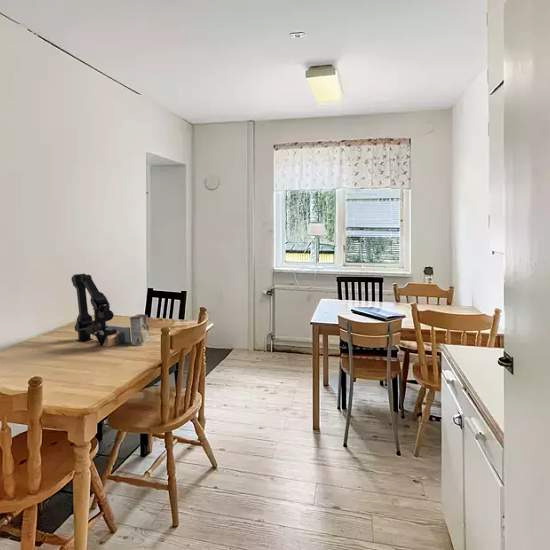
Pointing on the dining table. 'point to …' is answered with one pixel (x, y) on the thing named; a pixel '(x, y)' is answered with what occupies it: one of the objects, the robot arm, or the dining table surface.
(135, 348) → the dining table surface
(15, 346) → the dining table surface
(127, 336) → the shelf
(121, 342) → the bookend
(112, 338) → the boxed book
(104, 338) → the robot arm
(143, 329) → the coffee box
